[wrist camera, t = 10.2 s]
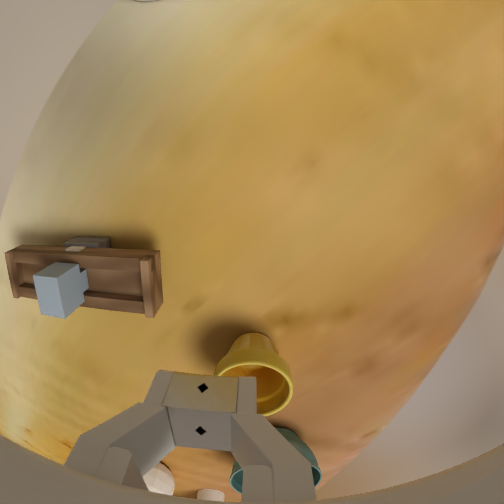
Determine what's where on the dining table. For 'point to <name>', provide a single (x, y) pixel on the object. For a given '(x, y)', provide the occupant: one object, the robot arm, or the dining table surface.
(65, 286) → the block
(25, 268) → the beam
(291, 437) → the flower pot
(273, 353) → the plant pot
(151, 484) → the white vase
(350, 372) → the dining table surface
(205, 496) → the cylindrical container
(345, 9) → the dining table surface
